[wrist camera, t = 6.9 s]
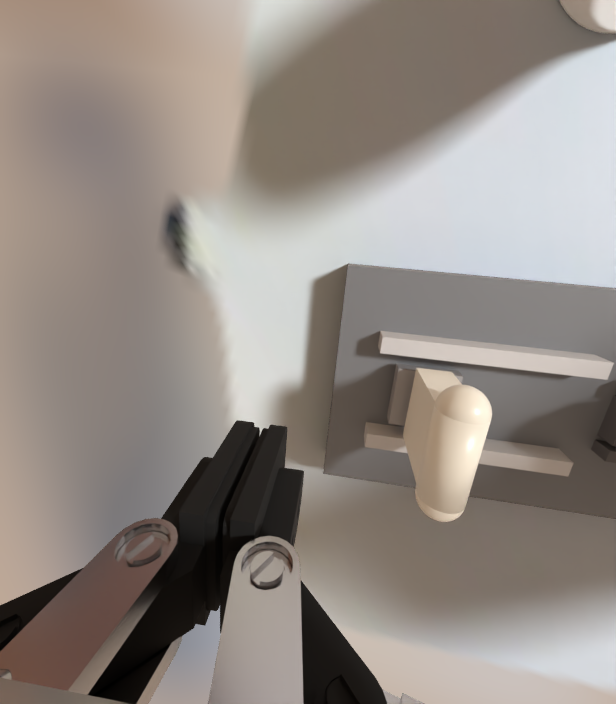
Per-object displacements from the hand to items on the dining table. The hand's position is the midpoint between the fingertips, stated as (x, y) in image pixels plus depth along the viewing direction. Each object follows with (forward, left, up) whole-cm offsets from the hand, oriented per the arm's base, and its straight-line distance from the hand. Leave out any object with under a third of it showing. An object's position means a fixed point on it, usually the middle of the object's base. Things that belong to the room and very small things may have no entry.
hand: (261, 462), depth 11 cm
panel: (-16, 0, -9) cm, 18 cm away
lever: (-7, 0, -7) cm, 10 cm away
